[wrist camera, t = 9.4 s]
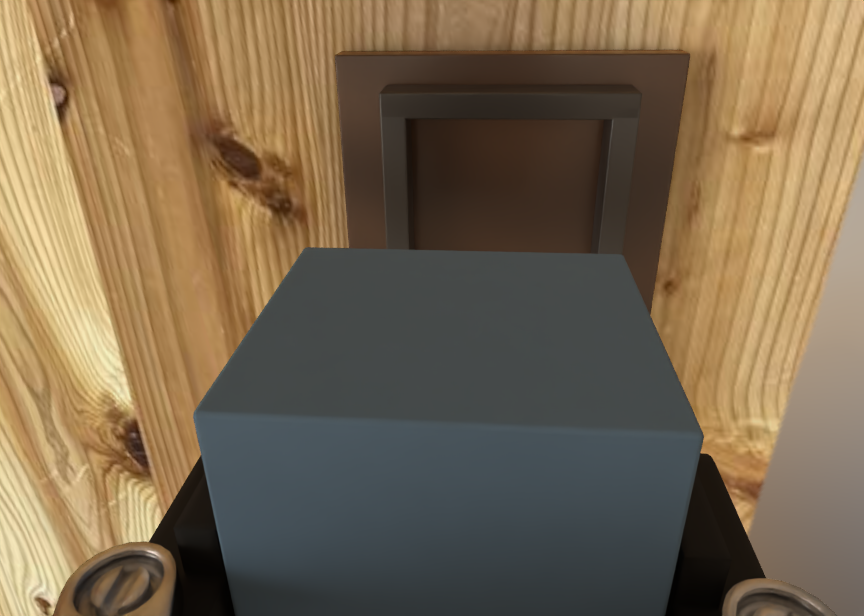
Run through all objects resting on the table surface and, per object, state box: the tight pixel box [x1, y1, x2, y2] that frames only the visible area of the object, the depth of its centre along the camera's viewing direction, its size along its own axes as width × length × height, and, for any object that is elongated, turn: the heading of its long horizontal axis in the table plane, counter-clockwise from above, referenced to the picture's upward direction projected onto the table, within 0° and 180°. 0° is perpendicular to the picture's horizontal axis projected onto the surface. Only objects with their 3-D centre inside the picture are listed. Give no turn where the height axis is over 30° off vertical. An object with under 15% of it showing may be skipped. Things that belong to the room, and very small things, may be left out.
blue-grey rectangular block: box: [193, 247, 704, 616], centre depth 10 cm, size 7×5×4 cm
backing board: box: [335, 50, 690, 314], centre depth 25 cm, size 19×11×2 cm, turn 1°
